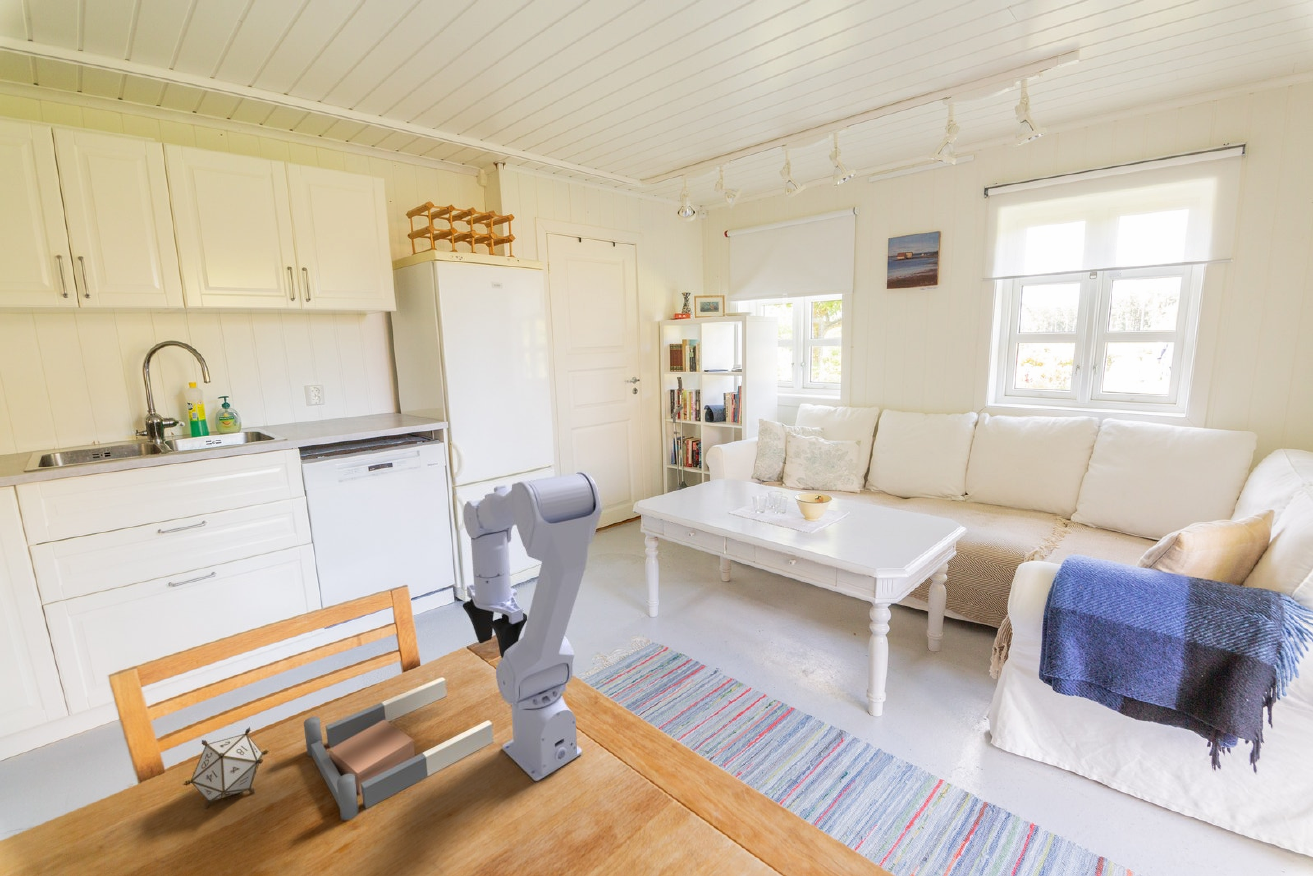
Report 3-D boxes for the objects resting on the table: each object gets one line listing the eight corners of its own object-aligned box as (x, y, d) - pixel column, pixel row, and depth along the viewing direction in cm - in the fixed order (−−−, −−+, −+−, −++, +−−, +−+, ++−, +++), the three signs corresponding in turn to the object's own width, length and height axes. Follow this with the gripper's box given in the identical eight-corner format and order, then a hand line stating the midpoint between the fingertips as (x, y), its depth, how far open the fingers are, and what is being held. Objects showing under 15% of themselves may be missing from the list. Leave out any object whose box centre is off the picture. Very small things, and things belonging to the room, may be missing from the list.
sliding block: (415, 761, 83) (413, 740, 82) (360, 796, 77) (357, 773, 76) (386, 740, 88) (384, 719, 87) (331, 771, 81) (329, 749, 81)
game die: (241, 825, 76) (225, 803, 70) (179, 804, 76) (157, 781, 70) (287, 755, 83) (276, 729, 77) (230, 736, 83) (215, 708, 76)
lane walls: (493, 741, 86) (492, 723, 86) (427, 776, 80) (425, 757, 79) (443, 693, 99) (442, 677, 98) (383, 719, 92) (381, 702, 91)
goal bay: (428, 778, 79) (426, 745, 78) (343, 823, 72) (339, 787, 71) (382, 718, 92) (379, 690, 91) (305, 751, 85) (302, 721, 84)
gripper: (537, 576, 91) (541, 655, 93) (491, 553, 101) (496, 625, 103) (497, 589, 86) (502, 673, 88) (453, 564, 96) (458, 640, 98)
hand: (496, 649), depth 95 cm, fingers open, 7 cm apart
